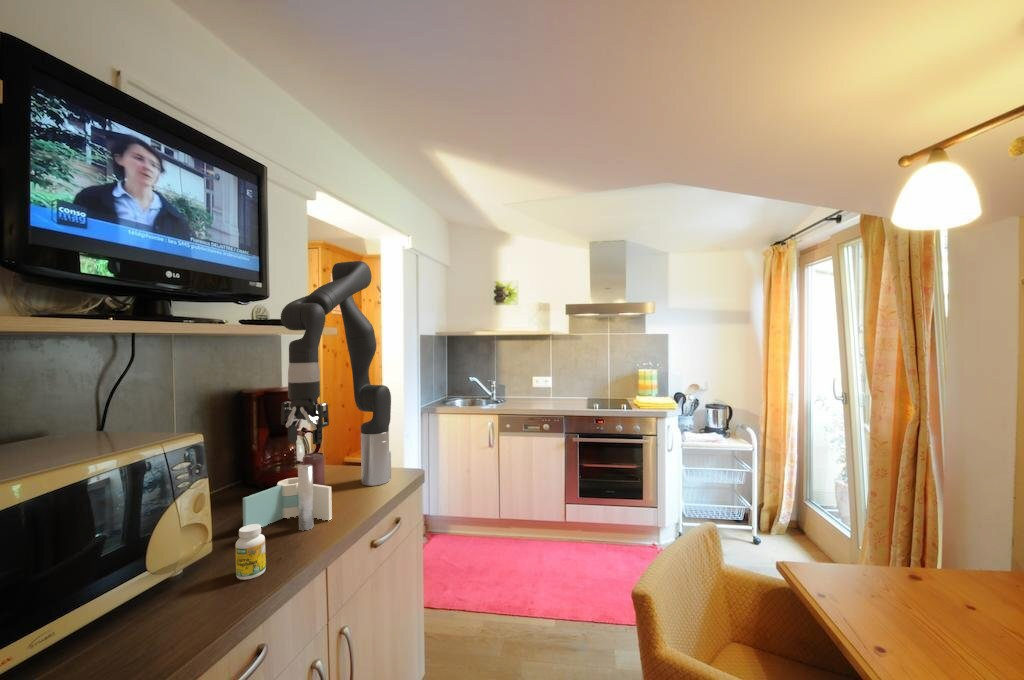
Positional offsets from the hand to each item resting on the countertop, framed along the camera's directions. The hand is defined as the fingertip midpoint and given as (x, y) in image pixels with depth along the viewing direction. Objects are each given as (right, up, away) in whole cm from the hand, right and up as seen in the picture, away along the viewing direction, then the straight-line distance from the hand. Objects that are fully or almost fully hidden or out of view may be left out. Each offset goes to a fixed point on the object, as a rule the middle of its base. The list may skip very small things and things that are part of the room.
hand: (304, 442), depth 115 cm
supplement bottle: (-1, -22, -22) cm, 32 cm away
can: (-7, -23, +20) cm, 31 cm away
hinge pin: (0, -22, 0) cm, 22 cm away
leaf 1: (-10, -22, +5) cm, 25 cm away
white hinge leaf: (-3, -22, +8) cm, 24 cm away
